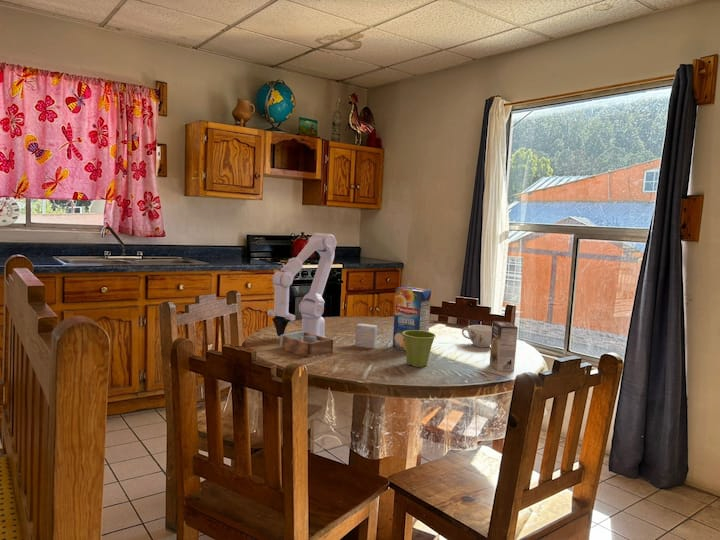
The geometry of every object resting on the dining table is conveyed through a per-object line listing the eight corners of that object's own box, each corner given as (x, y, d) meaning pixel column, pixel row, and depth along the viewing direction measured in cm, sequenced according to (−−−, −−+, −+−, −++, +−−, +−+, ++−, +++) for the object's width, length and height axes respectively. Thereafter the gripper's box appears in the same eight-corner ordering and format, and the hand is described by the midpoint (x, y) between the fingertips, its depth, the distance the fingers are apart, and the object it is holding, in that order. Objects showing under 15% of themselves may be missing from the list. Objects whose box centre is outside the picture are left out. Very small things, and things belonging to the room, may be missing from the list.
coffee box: (488, 364, 202) (491, 320, 200) (505, 364, 202) (509, 321, 201) (496, 371, 193) (500, 326, 191) (514, 371, 193) (518, 326, 191)
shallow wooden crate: (281, 349, 209) (282, 336, 208) (304, 344, 218) (305, 332, 217) (309, 357, 199) (310, 344, 198) (332, 352, 207) (333, 339, 207)
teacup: (500, 345, 233) (501, 326, 232) (493, 351, 222) (495, 331, 221) (465, 340, 239) (466, 322, 238) (457, 345, 228) (458, 326, 227)
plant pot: (410, 370, 189) (412, 338, 187) (394, 361, 199) (396, 330, 198) (440, 368, 193) (442, 336, 192) (423, 359, 204) (425, 329, 203)
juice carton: (392, 347, 220) (395, 288, 218) (402, 344, 226) (405, 286, 224) (418, 352, 213) (421, 291, 211) (427, 349, 219) (431, 290, 216)
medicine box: (376, 346, 220) (378, 325, 219) (373, 349, 216) (374, 327, 215) (358, 344, 223) (359, 323, 222) (354, 346, 219) (355, 325, 218)
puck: (310, 343, 211) (311, 334, 210) (318, 346, 207) (319, 337, 207) (300, 345, 207) (300, 336, 207) (308, 348, 204) (308, 338, 203)
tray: (280, 345, 209) (280, 334, 209) (303, 340, 218) (303, 330, 218) (306, 353, 200) (307, 342, 199) (329, 348, 208) (330, 338, 208)
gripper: (261, 300, 219) (260, 333, 220) (286, 305, 209) (284, 340, 211) (275, 298, 224) (274, 331, 225) (299, 303, 214) (298, 337, 216)
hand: (280, 335), depth 218 cm, fingers closed
